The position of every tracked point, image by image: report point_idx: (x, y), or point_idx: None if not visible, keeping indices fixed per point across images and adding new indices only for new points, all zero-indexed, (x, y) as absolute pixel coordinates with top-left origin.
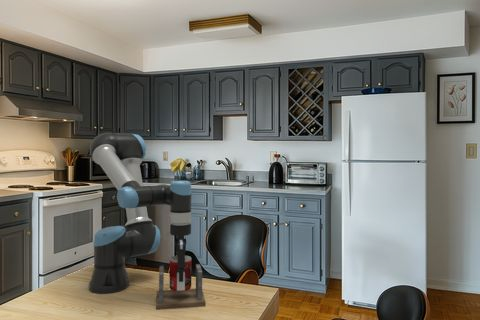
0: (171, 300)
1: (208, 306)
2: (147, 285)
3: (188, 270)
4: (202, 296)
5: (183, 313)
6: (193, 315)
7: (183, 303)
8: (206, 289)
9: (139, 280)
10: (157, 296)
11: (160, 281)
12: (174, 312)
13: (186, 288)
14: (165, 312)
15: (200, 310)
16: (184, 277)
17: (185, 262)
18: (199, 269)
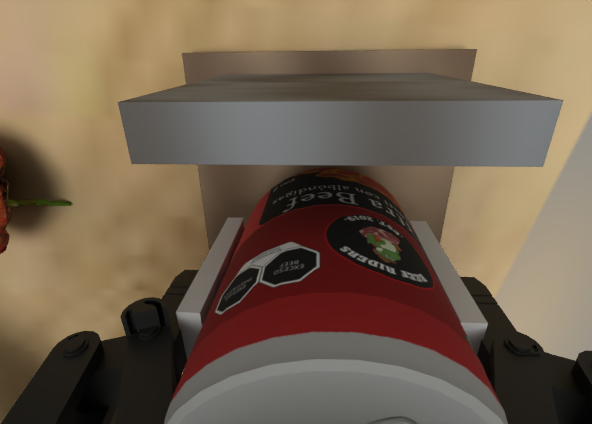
0: None
1: (473, 25)
2: None
3: (434, 281)
4: (359, 63)
5: (520, 194)
6: (576, 141)
7: (447, 199)
8: (133, 7)
9: (26, 367)
10: None
11: None
12: (486, 236)
13: (401, 209)
14: (468, 275)
15: (520, 91)
16: (460, 283)
17: (503, 417)
18: (413, 134)
